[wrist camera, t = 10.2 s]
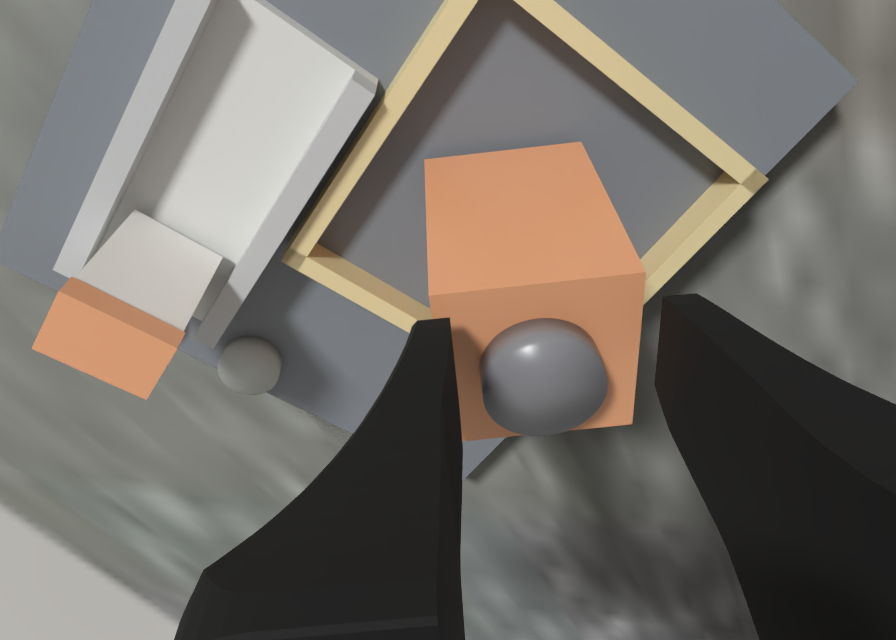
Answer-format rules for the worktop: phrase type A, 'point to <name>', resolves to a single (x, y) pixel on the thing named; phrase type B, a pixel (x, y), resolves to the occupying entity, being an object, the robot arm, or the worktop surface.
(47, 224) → the panel
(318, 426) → the worktop surface
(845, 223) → the worktop surface
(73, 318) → the block
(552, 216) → the cap
